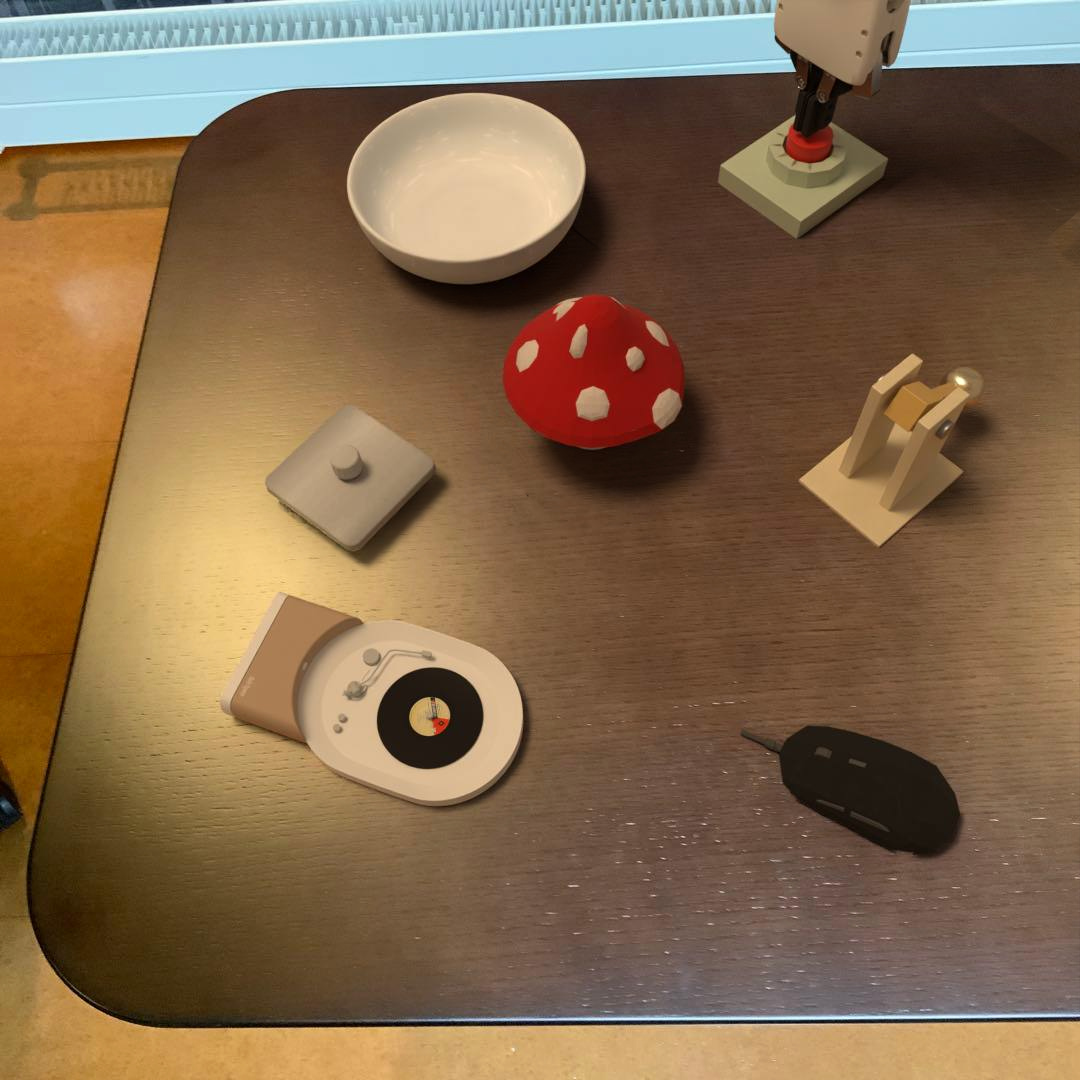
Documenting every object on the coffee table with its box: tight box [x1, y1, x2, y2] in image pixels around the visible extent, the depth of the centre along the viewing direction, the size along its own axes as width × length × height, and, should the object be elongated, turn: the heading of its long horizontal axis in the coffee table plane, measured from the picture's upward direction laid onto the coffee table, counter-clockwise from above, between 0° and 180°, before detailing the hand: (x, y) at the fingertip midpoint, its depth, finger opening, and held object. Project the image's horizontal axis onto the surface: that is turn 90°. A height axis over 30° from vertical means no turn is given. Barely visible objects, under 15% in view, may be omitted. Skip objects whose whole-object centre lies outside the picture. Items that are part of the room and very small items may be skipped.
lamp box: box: [717, 114, 889, 240], centre depth 97 cm, size 12×10×4 cm
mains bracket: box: [798, 353, 970, 549], centre depth 77 cm, size 10×8×12 cm
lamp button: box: [785, 123, 833, 164], centre depth 95 cm, size 4×4×2 cm
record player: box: [219, 591, 524, 807], centre depth 73 cm, size 12×3×20 cm
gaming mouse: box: [740, 724, 961, 856], centre depth 69 cm, size 6×15×4 cm, turn 63°
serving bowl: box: [346, 92, 587, 285], centre depth 94 cm, size 21×21×7 cm
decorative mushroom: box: [502, 293, 686, 451], centre depth 79 cm, size 14×14×15 cm
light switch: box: [264, 404, 437, 552], centre depth 81 cm, size 10×10×5 cm
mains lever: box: [884, 365, 986, 432], centre depth 77 cm, size 12×3×3 cm
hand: (810, 126), depth 94 cm, fingers closed
